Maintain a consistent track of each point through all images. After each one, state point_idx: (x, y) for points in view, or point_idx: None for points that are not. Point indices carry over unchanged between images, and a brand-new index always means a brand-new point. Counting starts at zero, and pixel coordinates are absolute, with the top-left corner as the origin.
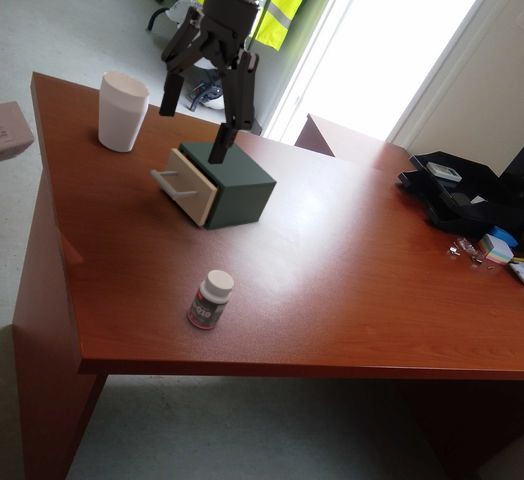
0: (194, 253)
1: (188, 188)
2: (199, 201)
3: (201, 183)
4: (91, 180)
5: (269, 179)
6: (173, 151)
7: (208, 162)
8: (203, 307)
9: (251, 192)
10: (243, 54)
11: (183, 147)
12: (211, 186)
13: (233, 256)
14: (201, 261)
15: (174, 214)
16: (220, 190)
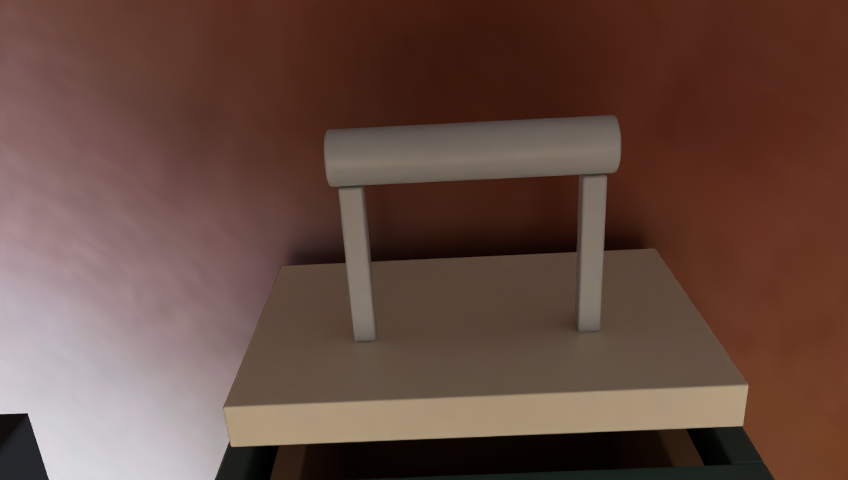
0: (94, 117)
1: (443, 322)
2: (320, 323)
3: (346, 385)
4: None
5: None
6: (715, 383)
7: (7, 415)
8: None
9: None
10: None
11: (722, 478)
12: (263, 423)
13: (66, 324)
14: (27, 119)
15: (427, 198)
16: (244, 469)
